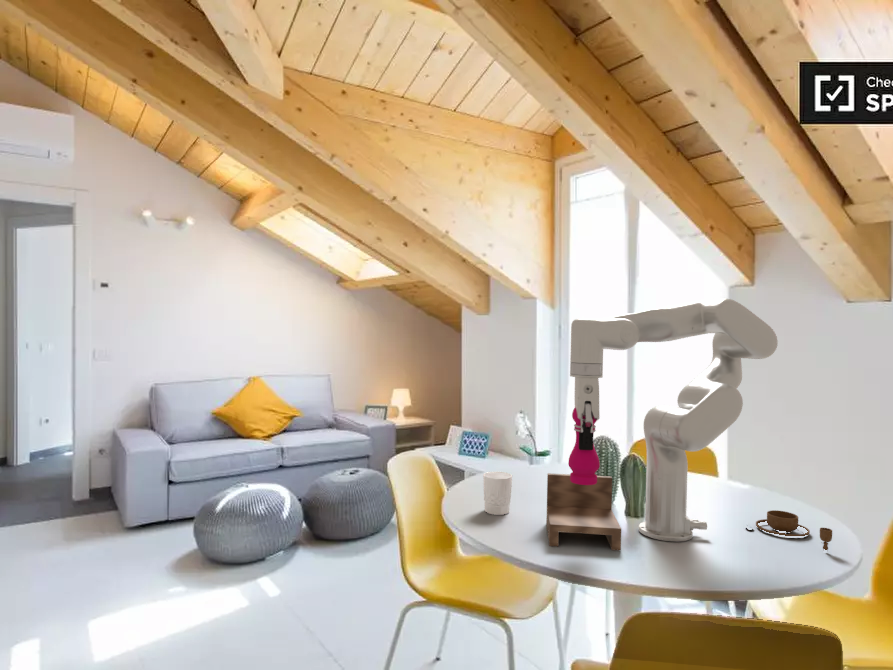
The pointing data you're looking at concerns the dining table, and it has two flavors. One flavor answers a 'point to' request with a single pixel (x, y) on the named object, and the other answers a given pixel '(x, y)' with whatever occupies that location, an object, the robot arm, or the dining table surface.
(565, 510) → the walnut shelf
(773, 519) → the place setting
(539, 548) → the dining table surface
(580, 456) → the pepper mill
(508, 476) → the white cup
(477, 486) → the dining table surface
